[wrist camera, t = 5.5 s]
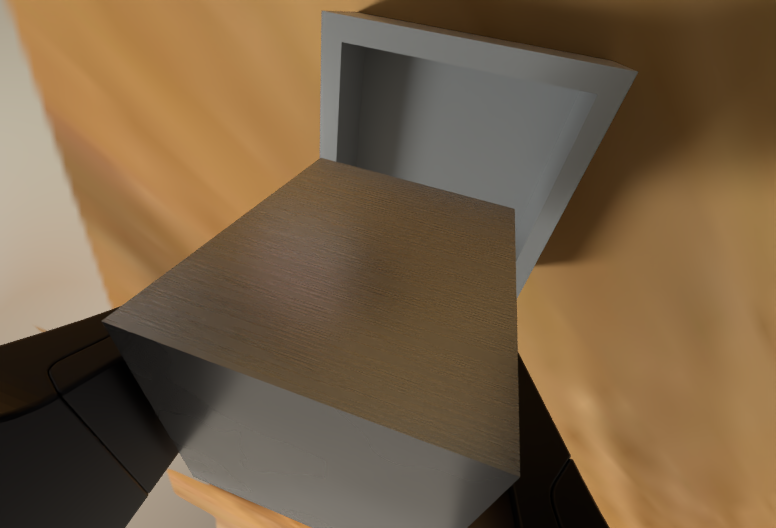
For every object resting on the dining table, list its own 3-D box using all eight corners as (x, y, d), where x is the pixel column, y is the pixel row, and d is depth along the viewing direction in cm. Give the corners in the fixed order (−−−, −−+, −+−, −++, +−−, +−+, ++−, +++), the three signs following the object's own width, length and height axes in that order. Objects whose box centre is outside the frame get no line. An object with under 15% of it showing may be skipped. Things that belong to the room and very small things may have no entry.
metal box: (514, 208, 8) (519, 476, 3) (457, 340, 11) (419, 573, 6) (321, 157, 9) (101, 320, 4) (318, 295, 12) (193, 476, 7)
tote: (611, 60, 13) (638, 71, 10) (511, 268, 20) (511, 308, 17) (356, 12, 14) (321, 10, 12) (343, 220, 21) (318, 250, 18)
